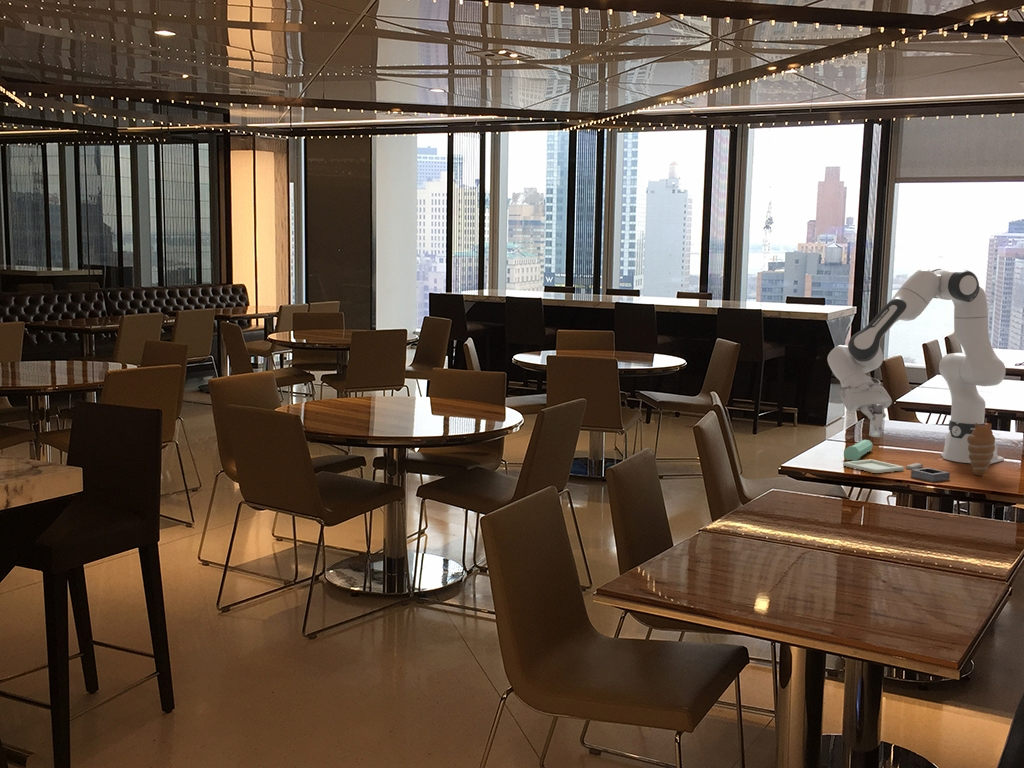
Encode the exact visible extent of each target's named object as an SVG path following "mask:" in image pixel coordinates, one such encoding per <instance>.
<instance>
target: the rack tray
mask: <svg viewBox="0 0 1024 768" xmlns="http://www.w3.org/2000/svg"><path fill="white" fill-rule="evenodd" d="M842 462H843V463H842V467H843V466H846V467H845V468H847V467H850V468H849V469H851V468H856V469H860V470H864V471H869V472H873V473H882V472H891V473H895V472H894V471H899V472H904V470H905V466H904V465H903V466H902V465H900V464H895V463H894V464H893V463H890V462H885V461H881V460H876V459H872V458H869V459H862V460H861V459H858V460H856V461H842ZM860 470H859V471H860ZM864 471H863V472H864Z"/></svg>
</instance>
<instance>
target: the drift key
mask: <svg viewBox="0 0 1024 768" xmlns="http://www.w3.org/2000/svg"><path fill="white" fill-rule="evenodd" d="M906 468H907V469H906ZM921 468H924V464H923V463H919V462H915V463H914V462H913V463H911V464H910V463H909V464H907V465H906V466H905V469H906V470H910V469H911V470H913V469H921ZM911 470H910V471H911Z"/></svg>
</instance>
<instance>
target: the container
mask: <svg viewBox="0 0 1024 768" xmlns="http://www.w3.org/2000/svg"><path fill="white" fill-rule="evenodd" d="M873 446H874V444H873V443H872V441H871V440H869V439H863V440H861V441H858V442H857V443H855V444H852V445H848V446H847V447H846V448H845V449H844V450H843V457H844V458H845V460H846V461H848V460H852V461H859V460H860V458H861V457H864V455H866V454H867V452H868V453H869V452H871V451H872V450H873Z"/></svg>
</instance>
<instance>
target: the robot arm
mask: <svg viewBox="0 0 1024 768" xmlns="http://www.w3.org/2000/svg"><path fill="white" fill-rule="evenodd" d="M978 279H979V278H978V277H977V275H976V274H975V273H974V272H973V271H970V270H968V269H960V268H954V267H953V268H952V267H951V268H937V269H933V270H930V269H924V268H921V269H918V270H916V271H915V273H913V274H912V275H911V276H909V278H908V279H906V281H905V282H904V283H903V284H902V285H901V287H899V289H898V290H897V291H896V293H895V294H894V295H893V297H892V298H891V299H890V300H889V302H888V303H886V304H885V305H884V307H882V308H881V310H880V311H879V312H878V313H877V314H876V315H875V316H874V318H873V319H872V320H871V321H870V322H869V323H868V324H867V325H866V326H865V327H864V328H862V329H861V330H859V331H857V332H855V334H853V335H852V336H851V337H850V339H849V341H848V344H847V345H841V344H840V345H837V346H835V347H833V349H831V350H830V352H829V353H828V355H827V359H826V360H827V364H828V367H829V368H830V370H831V372H832V373H833V375H834V377H836V379H838V380H839V383H840V385H841V386H840V387H839V388H838V394H839V395H840V400H841V401H842V403H843V406H844V407H845V409H846V410H847V411H849V412H853V411H855V412H856V411H860V412H861V413H862V414H863V415H865V416H866V417H867V418H868V420H870V419H874V418H875V415H874V413H872V411H871V410H872V404H881V405H883V411H882V413H883V419H885V418H886V417H887V415H886V413H885V409H887V408H889V407H890V406H891V405H892V404H893V400H892V398H891V396H890V395H889V393H888V391H887V390H886V389H885V387H884V386H883V385H882V382H881V380H879V379H877V378H875V377H872V376H869V375H868V373H870V372H872V371H875V370H877V369H879V368H880V367H881V366H882V365H883V362H884V357H885V356H884V353H883V350H882V348H881V340H882V338H883V337H884V336H885V335H886V334H887V333H888V332H889V330H890V329H891V328H892V327H893V326H894V324H895V323H896V322H898V321H904V322H908V321H913V320H915V319H917V318H918V317H919V316H920V315H921V314H922V313H923V312H924V311H925V309H926V308H927V307H928V305H930V304H931V303H930V302H931V301H932V300H933V299H940V300H944V301H945V300H947V301H950V300H951V301H952V303H953V305H954V307H953V308H954V310H953V325H954V326H953V328H954V329H953V332H954V333H953V335H954V339H955V341H956V342H957V343H959V345H960V346H961V347H962V349H963V351H964V352H953V353H947V354H945V355H944V356H943V357H942V358H941V359H940V361H939V364H938V370H939V371H938V372H939V374H940V375H941V376H942V378H944V380H945V381H946V384H947V386H948V389H949V393H950V398H951V407H950V408H951V410H950V411H951V412H950V420H949V421H948V430H949V431H948V433H947V434H946V436H945V441H944V447H943V451H942V452H940V453H941V454H940V456H941V457H942V458H943V459H944V460H946V461H950V462H956V463H964V464H971V460H970V459H969V454H970V452H969V450H968V445H969V443H968V441H967V438H968V436H969V435H971V434H972V432H973V430H974V429H975V423H977V424H979V425H985V426H986V425H987V424H988V423H985V416H986V415H985V414H986V401H985V399H984V397H982V396H981V395H980V393H979V392H978V389H977V386H979V387H991V386H992V387H993V386H998V385H999V384H1001V383H1002V382H1003V380H1004V379H1005V377H1006V370H1007V369H1006V366H1005V363H1004V362H1003V361H1002V360H1001V359H1000V358H999V357H998V355H997V354H996V352H995V351H994V349H993V345H992V344H991V341H990V340H991V339H990V335H989V309H988V301H987V295H986V292H985V290H984V288H982V287H981V286H980V283H979V280H978ZM866 374H867V375H866ZM994 445H995V450H994V452H993V458H992V459H991V463H990V465H992V464H995V463H998V462H1003V461H1005V458H1004V457H1003V456H1000V455H998V443H996V442H995V443H994Z"/></svg>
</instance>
